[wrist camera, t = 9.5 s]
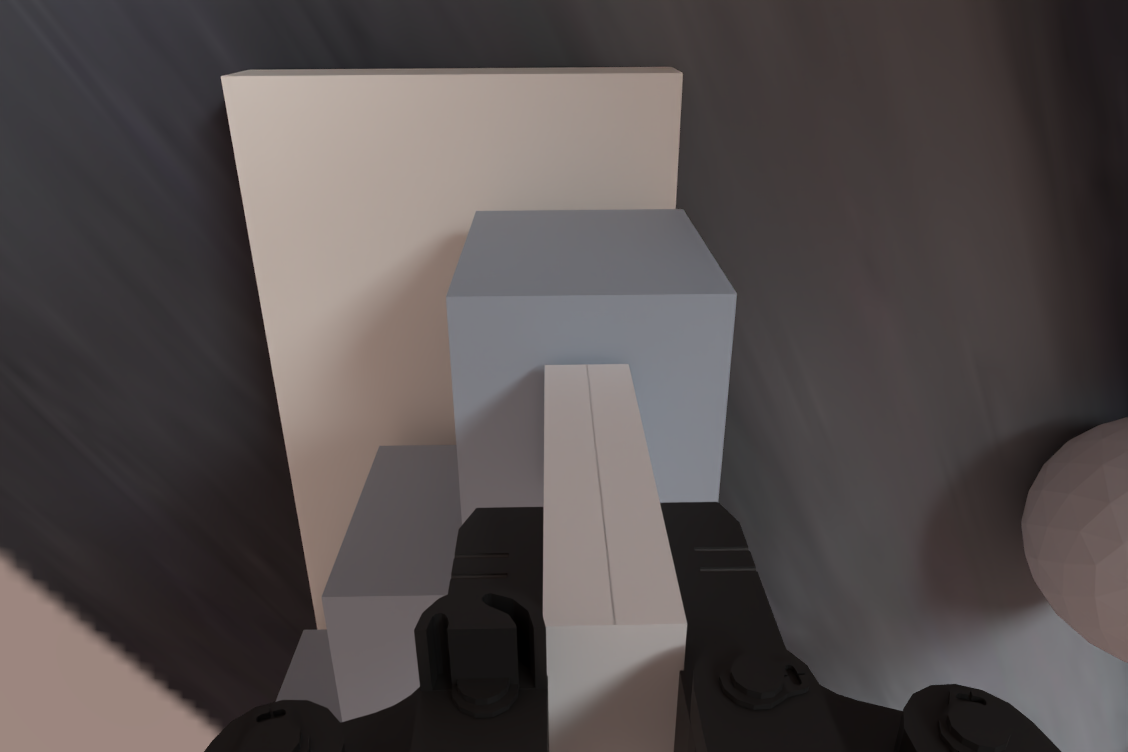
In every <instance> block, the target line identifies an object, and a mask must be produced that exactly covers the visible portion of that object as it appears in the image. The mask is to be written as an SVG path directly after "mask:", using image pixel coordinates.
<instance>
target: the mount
mask: <svg viewBox="0 0 1128 752" xmlns="http://www.w3.org/2000/svg"><path fill="white" fill-rule="evenodd" d="M221 81H222V87H223V93H224V98H225V104H226V110H227V115H228V121H229V127H230V133H231V138H232V144H233V150H234V155H235V161H236V167H237V173H238V178H239V184H240V190H241V195H242V201H243V207H244V213H245V218H246V224H247V230H248V235H249V241H250V247H251V253H252V258H253V264H254V270H255V275H256V281H257V287H258V292H259V298H260V304H261V310H262V315H263V321H264V327H265V332H266V338H267V344H268V350H269V355H270V361H271V367H272V372H273V378H274V384H275V390H276V395H277V401H278V407H279V412H280V418H281V424H282V430H283V435H284V441H285V447H286V452H287V458H288V464H289V470H290V475H291V481H292V487H293V492H294V498H295V504H296V510H297V515H298V521H299V527H300V532H301V538H302V544H303V550H304V555H305V561H306V567H307V572H308V578H309V584H310V590H311V595H312V601H313V607H314V612H315V618H316V624H317V630H321V629H327V628H326V622H325V616H324V610H323V604H322V598H321V597H322V594H323V592H324V589H325V586H326V584H327V581H328V578H329V576H330V573H331V571H332V568H333V565H334V563H335V560H336V558H337V555H338V552H339V550H340V547H341V545H342V542H343V539H344V537H345V534H346V532H347V529H348V526H349V524H350V521H351V518H352V516H353V513H354V511H355V508H356V505H357V503H358V500H359V498H360V495H361V492H362V490H363V487H364V485H365V482H366V479H367V477H368V474H369V472H370V469H371V466H372V464H373V461H374V458H375V456H376V453H377V451H378V448H379V446H402V445H456V432H455V418H454V404H453V390H452V376H451V362H450V348H449V334H448V320H447V306H446V295H447V292H448V289H449V286H450V284H451V281H452V278H453V275H454V272H455V269H456V267H457V264H458V261H459V258H460V255H461V252H462V249H463V247H464V244H465V241H466V238H467V235H468V232H469V230H470V227H471V224H472V221H473V218H474V215H475V212H476V211H525V210H635V209H676V192H677V174H678V155H679V137H680V118H681V99H682V81H683V73H682V72H680V71H678V70H676V69H675V68H673V67H565V68H421V69H277V70H246V71H241V72H237V73H233V74H228V75H224V76H221Z"/></svg>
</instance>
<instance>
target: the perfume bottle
mask: <svg viewBox="0 0 1128 752" xmlns="http://www.w3.org/2000/svg"><path fill="white" fill-rule="evenodd" d="M1021 526H1022V535H1023V544H1024V552H1025V556H1026V559H1027V562H1028V565H1029V568H1030V571H1031V573H1032V576H1033V579H1034V581H1035V583H1036V584H1037V586H1038V587H1039V589H1040V590H1041V592H1042V593H1043V595H1044V596H1045V598H1046V599H1047V601H1048V602H1049V604H1050V605H1051V607H1052V608H1053V610H1054V611H1055V613H1056V614H1057V615H1058V616H1059V617H1060V618H1062V619H1063V620H1064V621H1065V622H1066V623H1067V624H1068V625H1070V626H1071V627H1072V628H1073V629H1074V630H1075V631H1077V632H1078V633H1079V634H1080V635H1081V636H1082V637H1083V638H1085V639H1086V640H1087V641H1088V642H1089V643H1091V644H1093V645H1094V646H1096V647H1098V648H1100V649H1102V650H1104V651H1106V652H1108V653H1109V654H1111V655H1113V656H1115V657H1117V658H1119V659H1121V660H1122V661H1124V662H1127V663H1128V417H1126V418H1122V419H1119V420H1115V421H1112V422H1108V423H1105V424H1101V425H1098V426H1096V427H1094V428H1092V429H1090V430H1088V431H1086V432H1084V433H1082V434H1080V435H1079V436H1077V437H1075V438H1073V439H1071V440H1069V441H1068V442H1066V443H1065V444H1064V445H1063V446H1062V447H1061V448H1060V449H1059V450H1058V451H1057V452H1056V453H1055V454H1054V455H1053V456H1052V457H1051V458H1050V459H1049V460H1048V461H1047V462H1046V463H1045V464H1044V465H1043V467H1042V468H1041V470H1040V472H1039V474H1038V476H1037V477H1036V479H1035V481H1034V483H1033V485H1032V486H1031V488H1030V490H1029V492H1028V496H1027V500H1026V505H1025V509H1024V513H1023V517H1022V521H1021Z"/></svg>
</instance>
